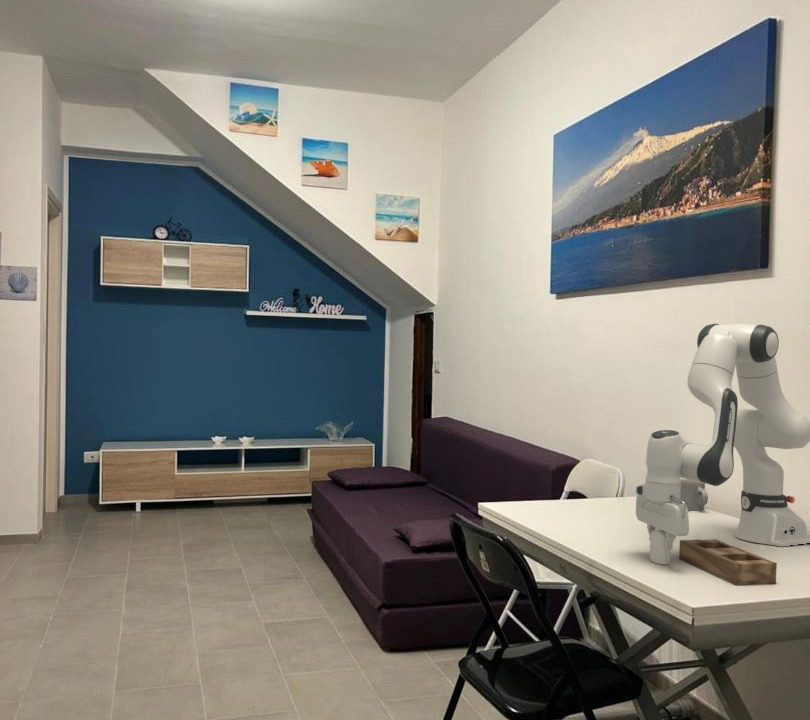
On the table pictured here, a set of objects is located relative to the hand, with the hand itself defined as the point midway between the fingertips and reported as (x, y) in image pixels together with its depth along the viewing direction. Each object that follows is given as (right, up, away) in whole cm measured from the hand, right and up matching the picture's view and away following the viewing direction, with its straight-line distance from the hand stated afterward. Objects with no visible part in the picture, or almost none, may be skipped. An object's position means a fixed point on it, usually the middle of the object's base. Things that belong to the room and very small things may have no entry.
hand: (660, 545), depth 206 cm
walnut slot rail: (+14, -5, -6) cm, 16 cm away
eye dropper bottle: (0, -5, 0) cm, 5 cm away
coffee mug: (+36, -5, +76) cm, 84 cm away
